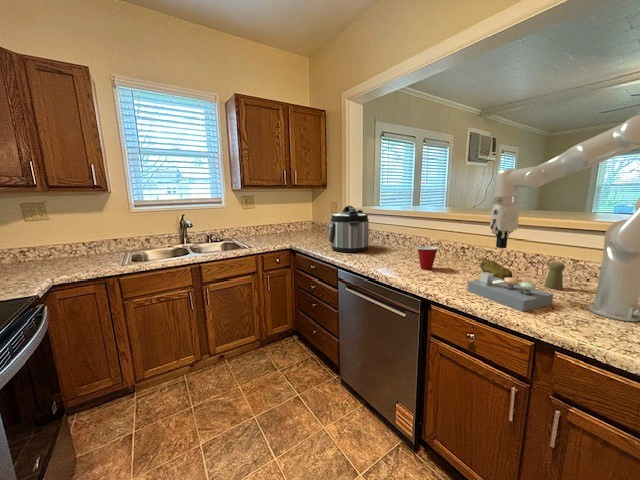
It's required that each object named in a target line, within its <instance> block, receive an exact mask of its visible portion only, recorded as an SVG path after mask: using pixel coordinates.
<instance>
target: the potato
mask: <svg viewBox="0 0 640 480" xmlns="http://www.w3.org/2000/svg"><path fill="white" fill-rule="evenodd" d="M479 265H480V269H481V271H483V272H488V273H492V274H493V277H497V278H500V279H503V280H504V278H506V277H510V278H513V272H512V271H511V270H510V269H508V268H507V267H505V266H503V265H501V264H499V263H498V262H497V261H494V260H491V259H485V260H483V261H481V262H480V264H479ZM483 272H482V273H483Z"/></svg>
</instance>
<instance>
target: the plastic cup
mask: <svg viewBox="0 0 640 480" xmlns="http://www.w3.org/2000/svg"><path fill="white" fill-rule="evenodd" d="M416 249H417V253H418V260H419V267H420V269H421V270H424V271H431V270H432V269H433V266H434V262H435V259H436V254H437V251H438V249H439V247H437V246H427V245H426V246H425V245H424V246H423V245H422V246H421V245H420V246H417V247H416Z"/></svg>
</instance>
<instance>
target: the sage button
mask: <svg viewBox="0 0 640 480" xmlns="http://www.w3.org/2000/svg"><path fill="white" fill-rule="evenodd" d="M519 284H520V287H521V288H523V289H524V293H523V294H524V295H527V296H530V293H531V290H535V289H536V287H537V285H536V283H533V282H529V281H522V282H520V283H519Z"/></svg>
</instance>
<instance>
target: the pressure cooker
mask: <svg viewBox="0 0 640 480" xmlns="http://www.w3.org/2000/svg"><path fill="white" fill-rule="evenodd" d="M368 215H369V214H366V213H364V211H363V210H362V209H358V210H357V209H356V208H355V207H354V206H352V205H347V206H345V207H344V208H343V209H342V212H340V213H333V214H331V218H330V222H329V229H328V231H329V232H328V241H329V243H330V247H331V248H332V250H334V251H336V252H340V253H353V252H354V253H355V252H364V251H365V250H367V249H368V248H369V228H370V227H369V225H370V224H369V223H370V222H369V218H368V217H369V216H368Z"/></svg>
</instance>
